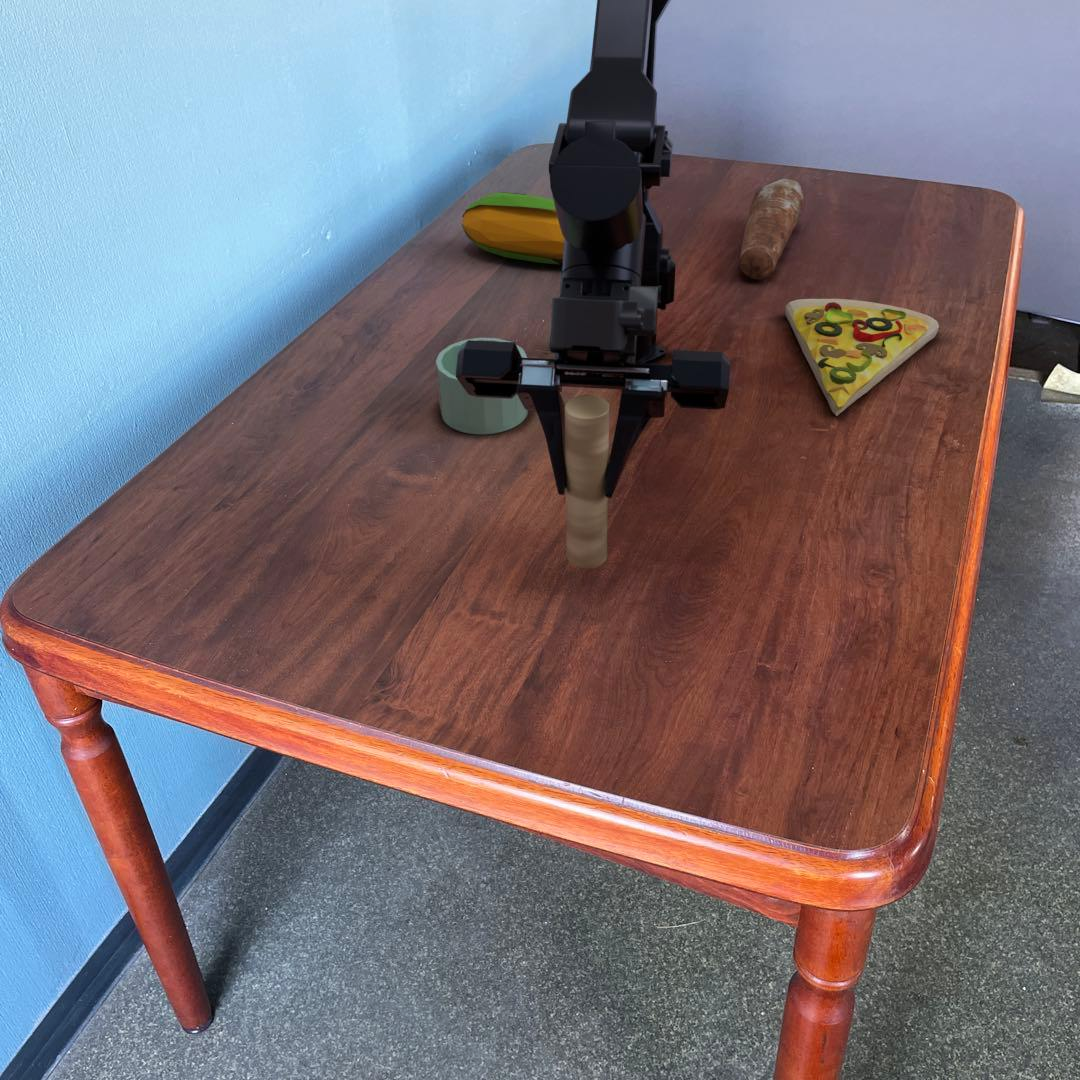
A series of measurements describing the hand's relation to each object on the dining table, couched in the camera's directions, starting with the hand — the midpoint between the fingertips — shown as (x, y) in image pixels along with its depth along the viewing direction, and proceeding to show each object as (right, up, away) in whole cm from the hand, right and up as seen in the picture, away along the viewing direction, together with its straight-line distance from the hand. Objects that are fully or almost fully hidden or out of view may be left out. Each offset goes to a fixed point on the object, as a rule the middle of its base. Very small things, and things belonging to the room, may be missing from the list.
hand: (584, 495), depth 75 cm
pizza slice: (+27, +14, +32) cm, 44 cm away
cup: (-8, +9, +26) cm, 29 cm away
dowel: (0, -4, +5) cm, 7 cm away
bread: (+24, +31, +53) cm, 66 cm away
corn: (-3, +30, +53) cm, 61 cm away
